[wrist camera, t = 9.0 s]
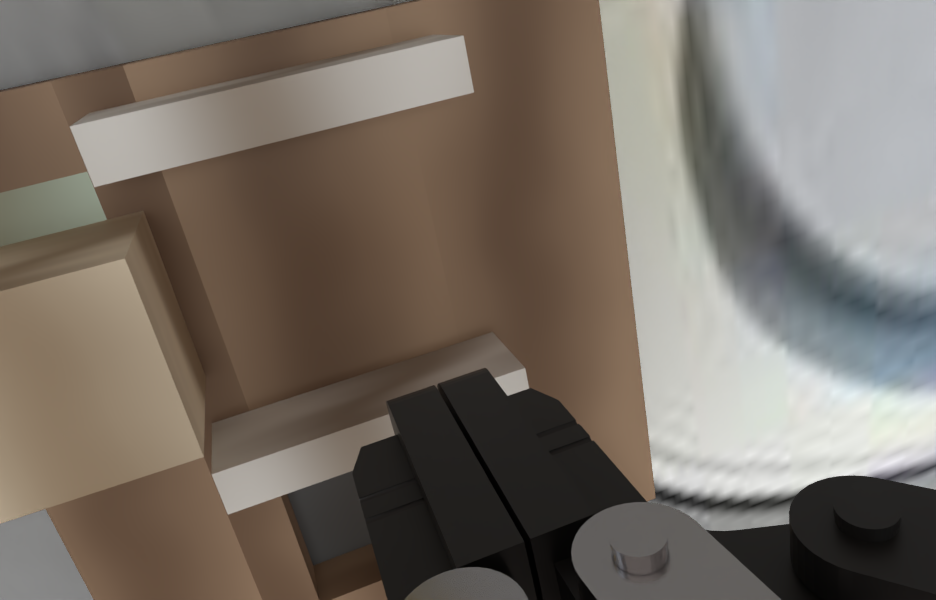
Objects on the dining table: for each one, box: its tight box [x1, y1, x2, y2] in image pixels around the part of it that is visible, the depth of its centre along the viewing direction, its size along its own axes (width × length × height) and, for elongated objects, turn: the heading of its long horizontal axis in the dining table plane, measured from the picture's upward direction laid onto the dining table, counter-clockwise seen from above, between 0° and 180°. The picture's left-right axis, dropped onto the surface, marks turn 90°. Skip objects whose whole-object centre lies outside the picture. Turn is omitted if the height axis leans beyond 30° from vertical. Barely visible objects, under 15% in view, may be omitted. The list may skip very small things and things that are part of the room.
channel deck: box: [0, 0, 655, 600], centre depth 20 cm, size 17×17×4 cm
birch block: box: [0, 211, 206, 524], centre depth 16 cm, size 4×4×4 cm
